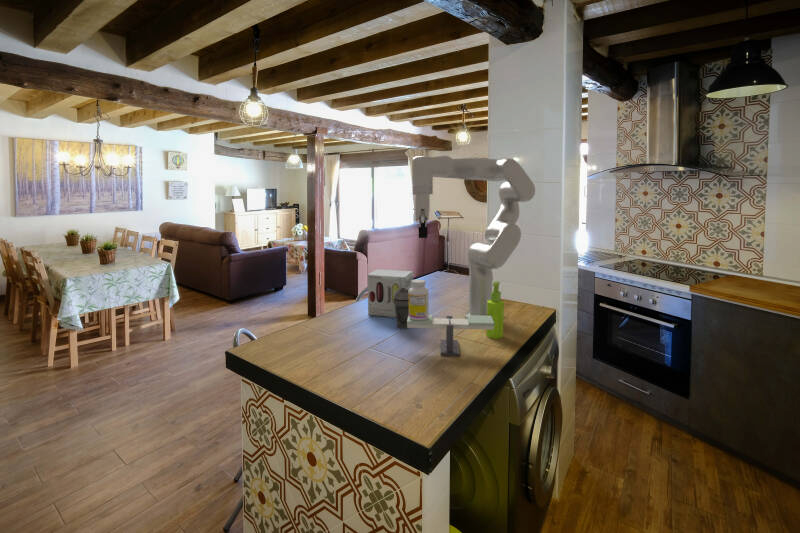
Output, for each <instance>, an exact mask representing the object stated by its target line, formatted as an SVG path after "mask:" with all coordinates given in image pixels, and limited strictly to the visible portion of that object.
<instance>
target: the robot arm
mask: <svg viewBox="0 0 800 533" xmlns="http://www.w3.org/2000/svg"><path fill="white" fill-rule="evenodd" d="M411 171H412V174H411V175H412V195H413V196H414V195H415V197H414V198H415V199H414V200H415V201H414V208H415V209H414V210H415V214H414V215H415V222H418V223H419V224H418V238H419V239H427V238H428V224H427V223H428V221H429V219H430V218H429V217H430V199H431V198H430V197H431V196H430V195H433V193H434V190H433V188H434V185H433V184H434V182H433V181H434V180H433V178H443V179H444V178H445V179H457V180H470V181H485V182H502V183H501V185H500V186H499V188H498V195H499V196H498V197H499V200H500V207H499V210H497V213H496V215H495V216H494V217H493V219H492V220H491V222H490V223H489V225H488V226H487V228H486V229H485V232H484V238H485V240H486V242H482V241H477V242H474V243H473V244H471V245H470V246H469V248H468V250H467V261H468V268H469V269H468V272H469V278H468V279H469V280H468V311H466V312H464V318H465V319H467V315H480V316H487V301H488V300H491V292H492V291H493V283H494V275H493V270H499V269H500V268H501V267H503V266H504V265H505V264H506V262H507V261H508V260H509V258H510V257H511V255H512V254H513V252H514V251H515V250H516V249H517V247H518V245H519V243H520V241H521V237H522V230H521V228H520V227H519V226H518V225H517V224H516V223H517V222H518V220H519V217H520V214H521V213H520V204H519V203H525V202H529V201H531V200H532V199H533V198H534V196H535V194H536V187H535V184H534V182H533V180H532V179H531V177H530V176H529V175H528V174H527V172H526V171H525V169H524V168H523V167H522V165H521V164H520V163H518V161H517V160H515V159H513V158H509V157H507V158H500V159H497V158H496V159H495V158H486V157H471V156H470V157H461V158H452V157H451V156H450V155H446V154H445V155H436V156H429V155H421V156H420V155H417V156H414V157H413V158H412V161H411Z"/></svg>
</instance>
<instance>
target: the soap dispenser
mask: <svg viewBox="0 0 800 533" xmlns="http://www.w3.org/2000/svg"><path fill="white" fill-rule="evenodd" d="M500 284H501V281H493V285H492V287H493V290H492V292H491V300H488V301H487V316H491V317H492V319H493V322H494V327H493V330H488V329H485V331H486V337H487V338H489V339H493V340H494V339H495V340H499V338H500V339H503V337H504V336H503V335H504V311H505V301H503V300H501V298H502V292H501V291H499V286H500Z"/></svg>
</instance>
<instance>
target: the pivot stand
mask: <svg viewBox="0 0 800 533" xmlns="http://www.w3.org/2000/svg"><path fill="white" fill-rule="evenodd" d="M448 318H451V319H453V315H446V317H445V319H448ZM445 330H446V331H445V333H446V334H445V336H446V337H445V338H446V339H440V341H439V342H440V346H439V347H440V348H439V349H440V356H441V357H460V348H459V340H458V339H454V329H453V324H447V329H445Z"/></svg>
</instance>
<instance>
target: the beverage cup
mask: <svg viewBox="0 0 800 533" xmlns="http://www.w3.org/2000/svg"><path fill="white" fill-rule="evenodd" d="M399 282H400V289H398V290H397V291H396V292H395V294H394V304H395V311H396V317H395V319H396V326H397V328H398V329H402V330H403V329H408V328H407V319H408V315H409V295H408V291H409V290H408V289H406V288H402V287H401V280H400V277H399Z"/></svg>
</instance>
